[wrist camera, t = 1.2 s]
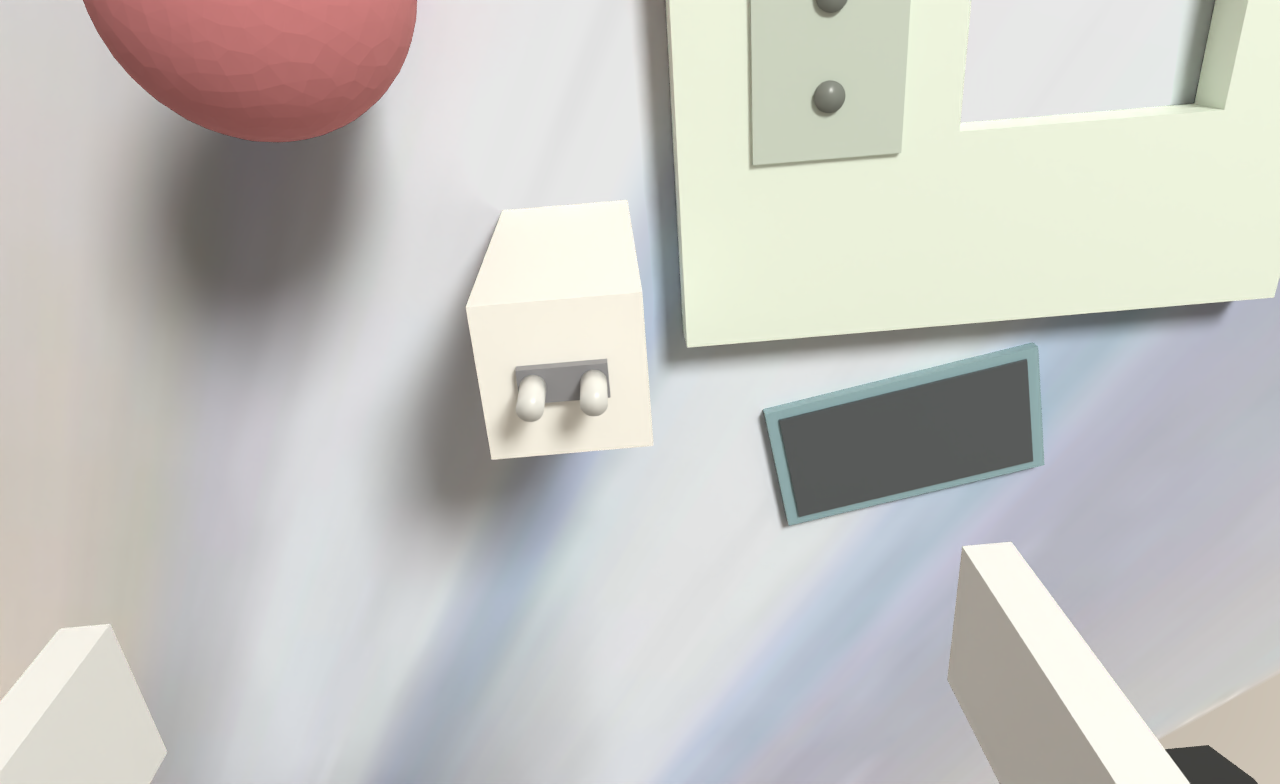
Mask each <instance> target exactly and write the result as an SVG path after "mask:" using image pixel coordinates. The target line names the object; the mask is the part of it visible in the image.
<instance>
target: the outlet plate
mask: <svg viewBox="0 0 1280 784" xmlns="http://www.w3.org/2000/svg"><path fill="white" fill-rule="evenodd" d="M970 9H971V0H666V18H667V37H668V56H669V75H670V94H671V113H672V132H673V151H674V170H675V189H676V208H677V227H678V246H679V265H680V284H681V302H682V321H683V333H684V337H685V341H686V345H687V348H689V347H701V346H712V345H724V344H736V343H747V342H759V341H771V340H782V339H794V338H806V337H817V336H829V335H841V334H852V333H864V332H876V331H887V330H899V329H911V328H922V327H934V326H946V325H958V324H969V323H981V322H993V321H1004V320H1016V319H1028V318H1039V317H1051V316H1063V315H1074V314H1086V313H1098V312H1109V311H1121V310H1133V309H1144V308H1156V307H1168V306H1180V305H1191V304H1203V303H1215V302H1226V301H1238V300H1250V299H1261V298H1273V297H1274V296H1275V292H1276V288H1277V284H1278V281H1279V277H1280V0H1215V5H1214V10H1213V15H1212V19H1211V24H1210V29H1209V34H1208V39H1207V44H1206V49H1205V54H1204V59H1203V64H1202V68H1201V73H1200V78H1199V83H1198V88H1197V93H1196V98H1195V103H1194V104H1183V105H1171V106H1158V107H1146V108H1134V109H1122V110H1110V111H1098V112H1085V113H1073V114H1061V115H1049V116H1037V117H1025V118H1013V119H1000V120H988V121H976V122H964V123H960V120H961V109H962V98H963V87H964V76H965V65H966V54H967V43H968V32H969V21H970Z"/></svg>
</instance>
